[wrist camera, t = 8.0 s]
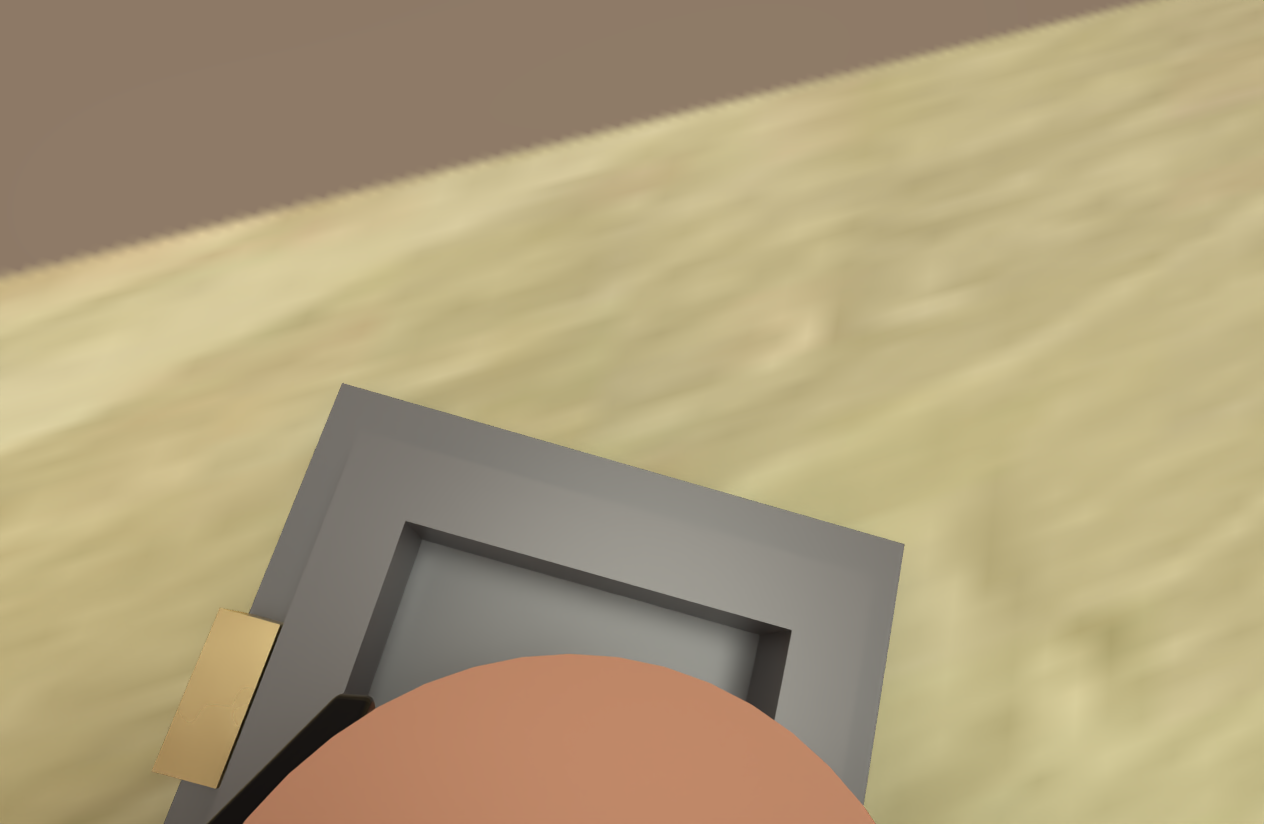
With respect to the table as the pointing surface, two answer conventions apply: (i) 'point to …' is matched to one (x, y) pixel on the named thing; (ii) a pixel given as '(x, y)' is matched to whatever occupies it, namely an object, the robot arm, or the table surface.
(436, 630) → the gray square tray
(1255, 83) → the table surface
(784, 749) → the terracotta peg
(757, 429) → the table surface
